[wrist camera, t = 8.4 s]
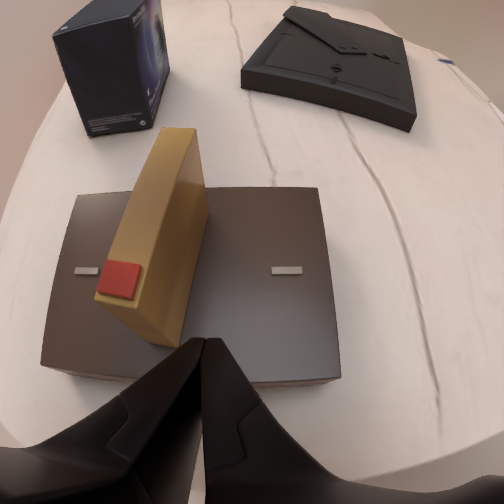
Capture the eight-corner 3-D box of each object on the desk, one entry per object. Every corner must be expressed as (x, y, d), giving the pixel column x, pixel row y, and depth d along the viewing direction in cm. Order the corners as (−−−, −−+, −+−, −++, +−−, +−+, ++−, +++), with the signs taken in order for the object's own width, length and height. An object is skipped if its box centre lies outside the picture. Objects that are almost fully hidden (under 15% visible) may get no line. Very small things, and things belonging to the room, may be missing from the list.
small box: (157, 129, 23) (131, 13, 14) (86, 140, 23) (45, 38, 14) (173, 68, 28) (161, -20, 19) (116, 77, 28) (95, -5, 19)
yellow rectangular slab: (183, 208, 16) (160, 122, 11) (209, 211, 16) (195, 123, 11) (147, 342, 13) (89, 296, 8) (178, 348, 13) (133, 306, 8)
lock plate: (307, 209, 20) (316, 177, 17) (326, 395, 15) (343, 391, 12) (96, 214, 20) (78, 185, 17) (68, 384, 14) (36, 376, 12)
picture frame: (289, 22, 36) (240, 88, 26) (291, 5, 33) (240, 62, 24) (398, 49, 34) (409, 132, 24) (403, 33, 31) (419, 109, 22)
